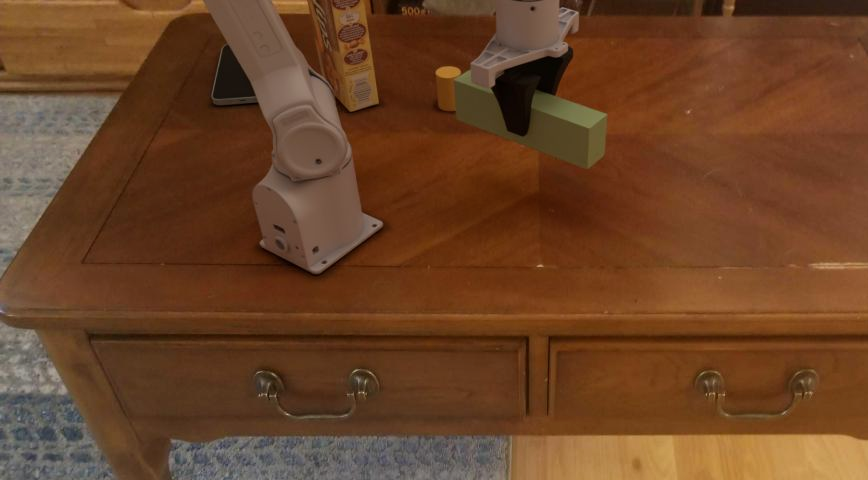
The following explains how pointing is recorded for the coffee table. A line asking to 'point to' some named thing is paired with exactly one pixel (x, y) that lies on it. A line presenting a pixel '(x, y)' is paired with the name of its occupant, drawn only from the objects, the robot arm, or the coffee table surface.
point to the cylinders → (446, 87)
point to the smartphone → (231, 81)
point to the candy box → (345, 50)
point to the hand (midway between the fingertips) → (527, 124)
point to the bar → (537, 123)
